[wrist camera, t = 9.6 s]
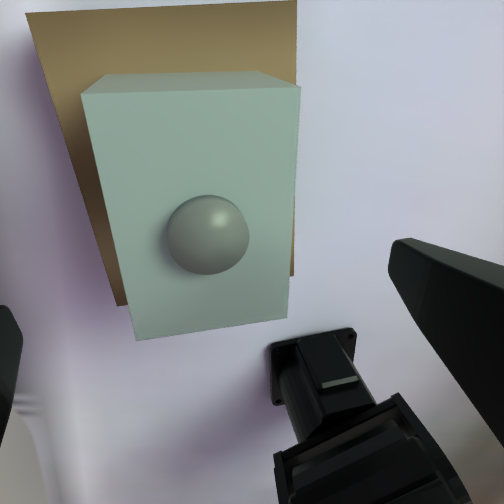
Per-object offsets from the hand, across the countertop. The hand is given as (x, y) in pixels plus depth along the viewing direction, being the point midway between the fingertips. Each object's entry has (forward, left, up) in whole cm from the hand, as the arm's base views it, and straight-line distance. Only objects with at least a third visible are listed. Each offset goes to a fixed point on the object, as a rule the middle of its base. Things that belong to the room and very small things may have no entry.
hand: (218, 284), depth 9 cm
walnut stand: (0, 0, -11) cm, 11 cm away
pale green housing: (0, 0, -8) cm, 8 cm away
